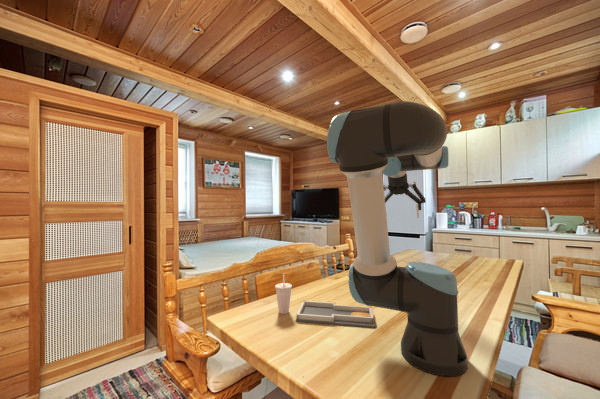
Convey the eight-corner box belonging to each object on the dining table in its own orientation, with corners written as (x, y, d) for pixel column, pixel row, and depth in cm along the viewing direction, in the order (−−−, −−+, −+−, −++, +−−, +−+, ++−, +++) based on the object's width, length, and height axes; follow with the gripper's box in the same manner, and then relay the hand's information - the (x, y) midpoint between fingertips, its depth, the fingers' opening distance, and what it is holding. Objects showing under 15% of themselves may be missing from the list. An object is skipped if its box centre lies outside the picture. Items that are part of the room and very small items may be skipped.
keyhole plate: (375, 327, 80) (374, 321, 80) (295, 321, 85) (295, 315, 85) (371, 310, 93) (371, 304, 93) (302, 305, 98) (302, 300, 98)
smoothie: (293, 308, 96) (293, 271, 96) (291, 315, 89) (290, 276, 90) (276, 307, 96) (276, 271, 97) (273, 315, 90) (273, 276, 90)
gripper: (429, 167, 102) (431, 210, 111) (367, 173, 113) (373, 213, 122) (431, 174, 96) (433, 220, 105) (365, 181, 107) (372, 222, 116)
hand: (401, 216), depth 114 cm, fingers open, 13 cm apart
